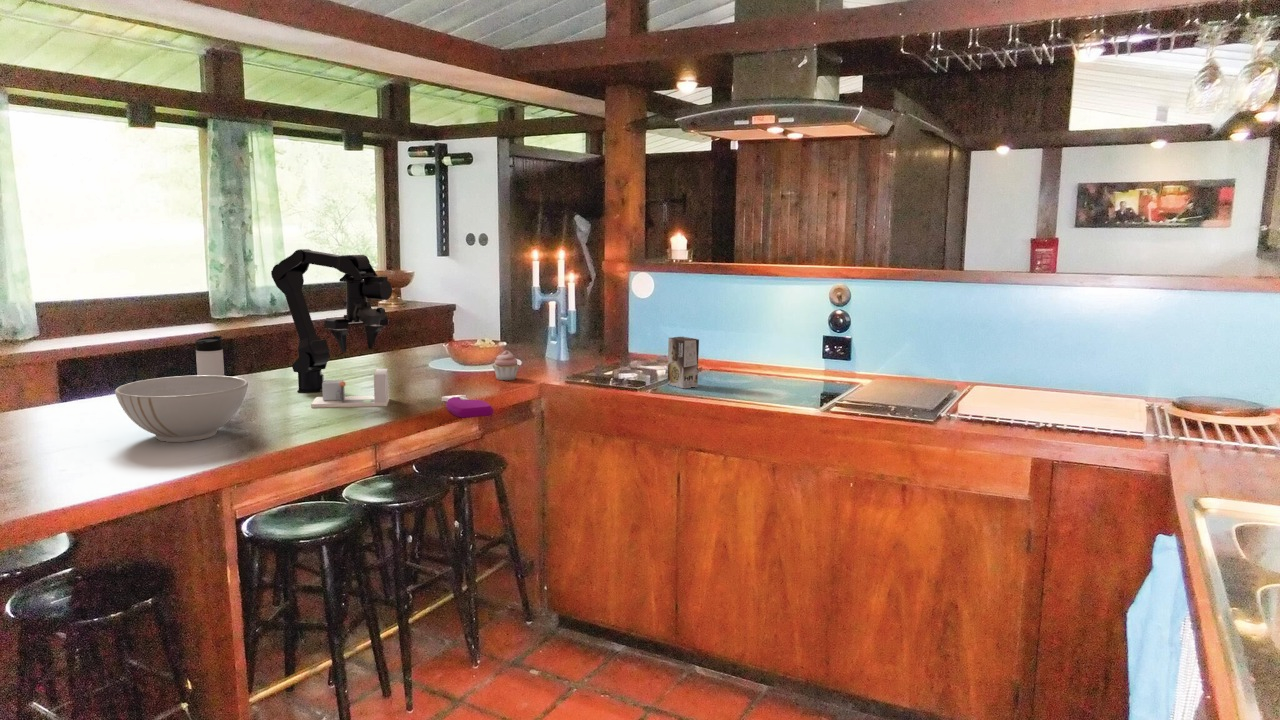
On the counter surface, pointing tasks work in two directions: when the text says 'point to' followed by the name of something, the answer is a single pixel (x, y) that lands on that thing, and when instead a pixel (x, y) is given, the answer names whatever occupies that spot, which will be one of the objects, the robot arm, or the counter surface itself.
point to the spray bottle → (467, 406)
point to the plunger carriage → (331, 390)
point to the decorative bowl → (182, 405)
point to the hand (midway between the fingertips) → (357, 350)
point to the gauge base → (360, 401)
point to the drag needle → (342, 390)
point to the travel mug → (210, 356)
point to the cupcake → (506, 366)
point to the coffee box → (683, 362)
